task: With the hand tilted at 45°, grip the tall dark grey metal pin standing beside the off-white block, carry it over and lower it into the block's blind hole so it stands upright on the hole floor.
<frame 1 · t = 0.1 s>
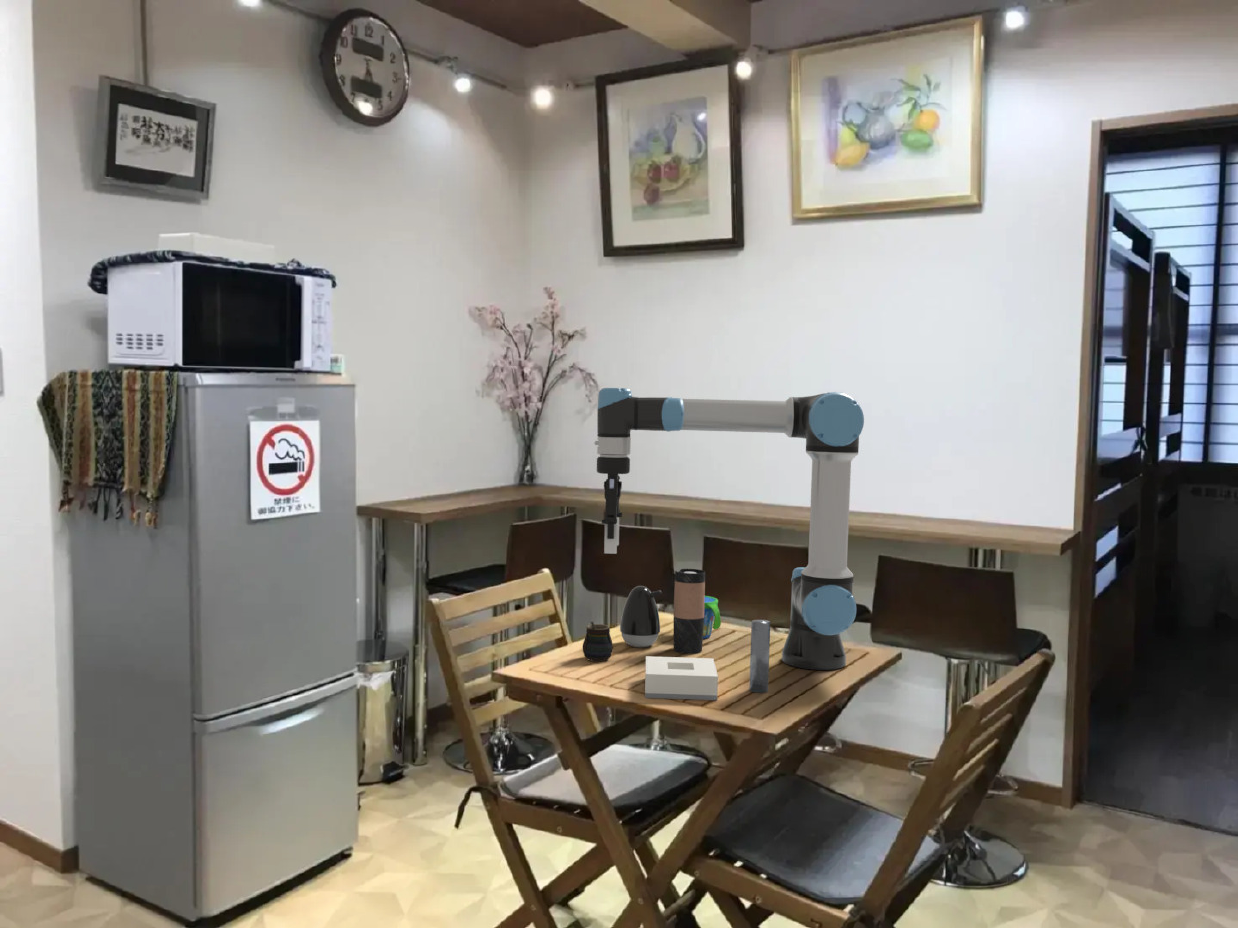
hand: (611, 549, 228), 28 cm above the table, tool pointing down, fingers open, 13 cm apart
pin: (758, 690, 216), on the table
pump dispenser: (639, 645, 255), on the table
travel mug: (687, 651, 250), on the table
mate gourd: (597, 660, 239), on the table
snack cup: (696, 637, 266), on the table
hole block: (679, 688, 216), on the table
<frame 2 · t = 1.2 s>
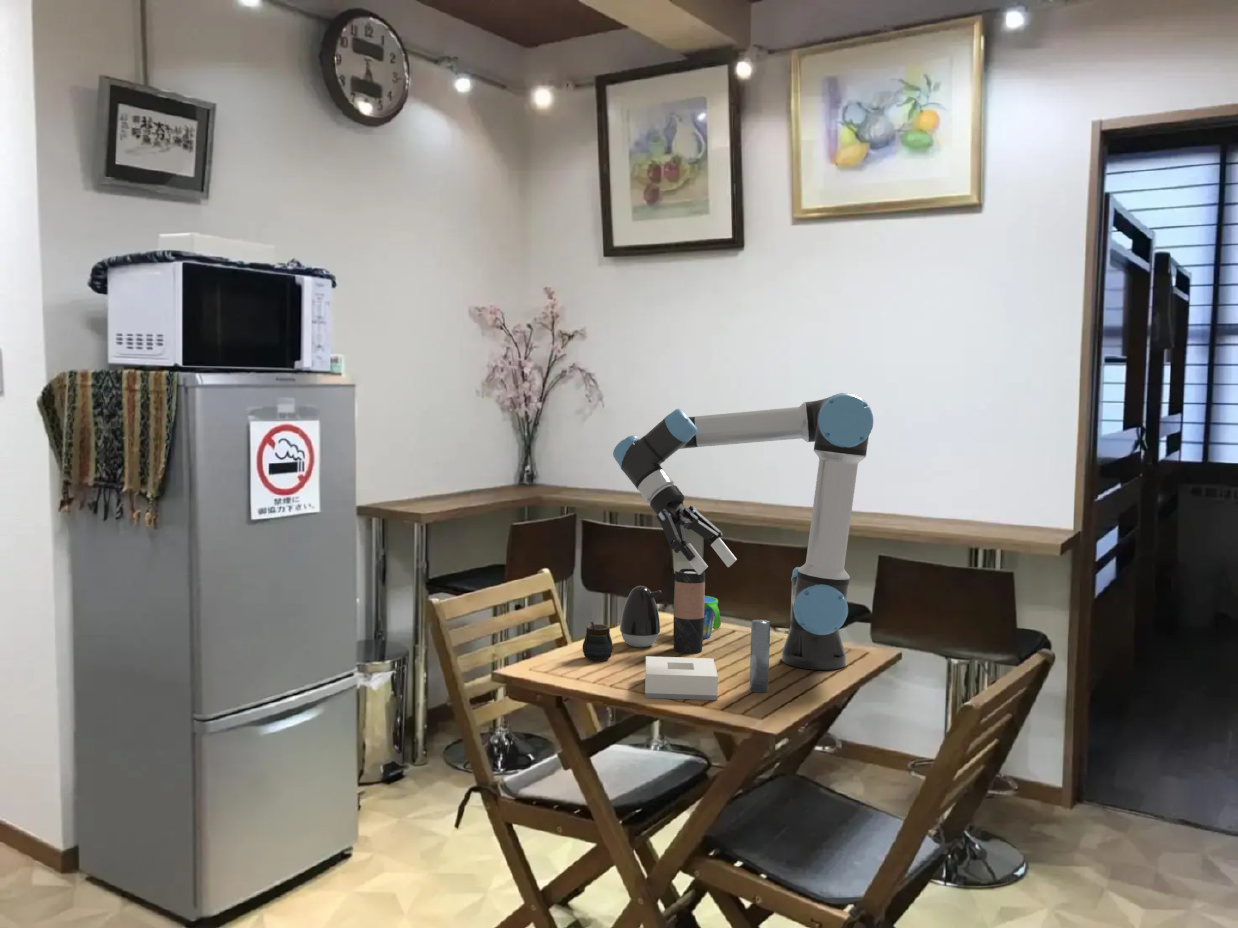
hand: (718, 567, 221), 26 cm above the table, tool tilted 45°, fingers open, 13 cm apart
nothing on the table moved.
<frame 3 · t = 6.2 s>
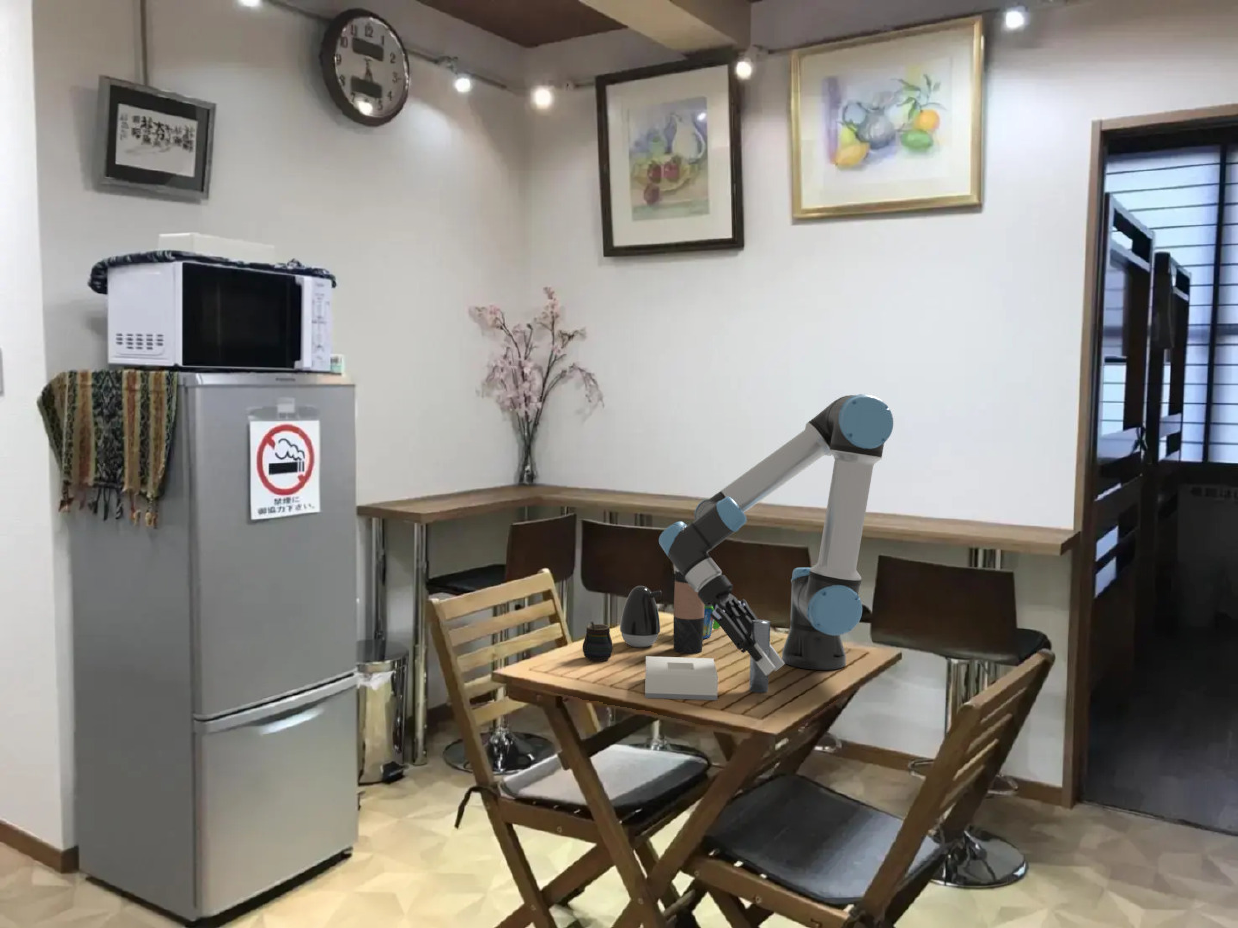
hand: (775, 669, 214), 5 cm above the table, tool tilted 45°, fingers closed on pin, 4 cm apart
pin: (758, 690, 216), on the table, touching gripper
everything else where it was.
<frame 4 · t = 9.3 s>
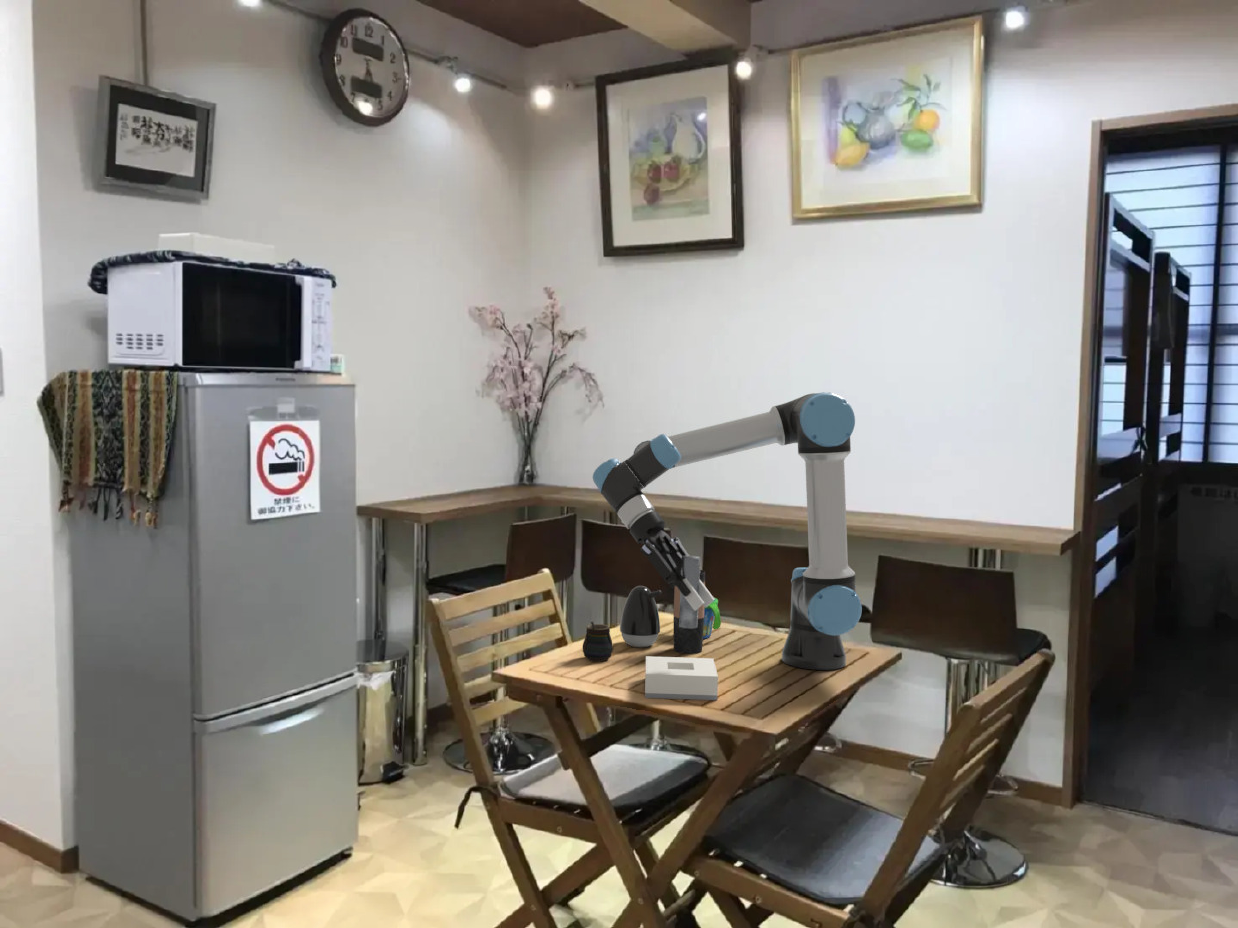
hand: (704, 604, 212), 19 cm above the table, tool tilted 45°, fingers closed on pin, 4 cm apart
pin: (688, 626, 215), point 14 cm above the table, touching gripper
everything else where it was.
when the fingers open (7 cm above the table, at t = 12.6 s): pin stays where it is, resting on hole block.
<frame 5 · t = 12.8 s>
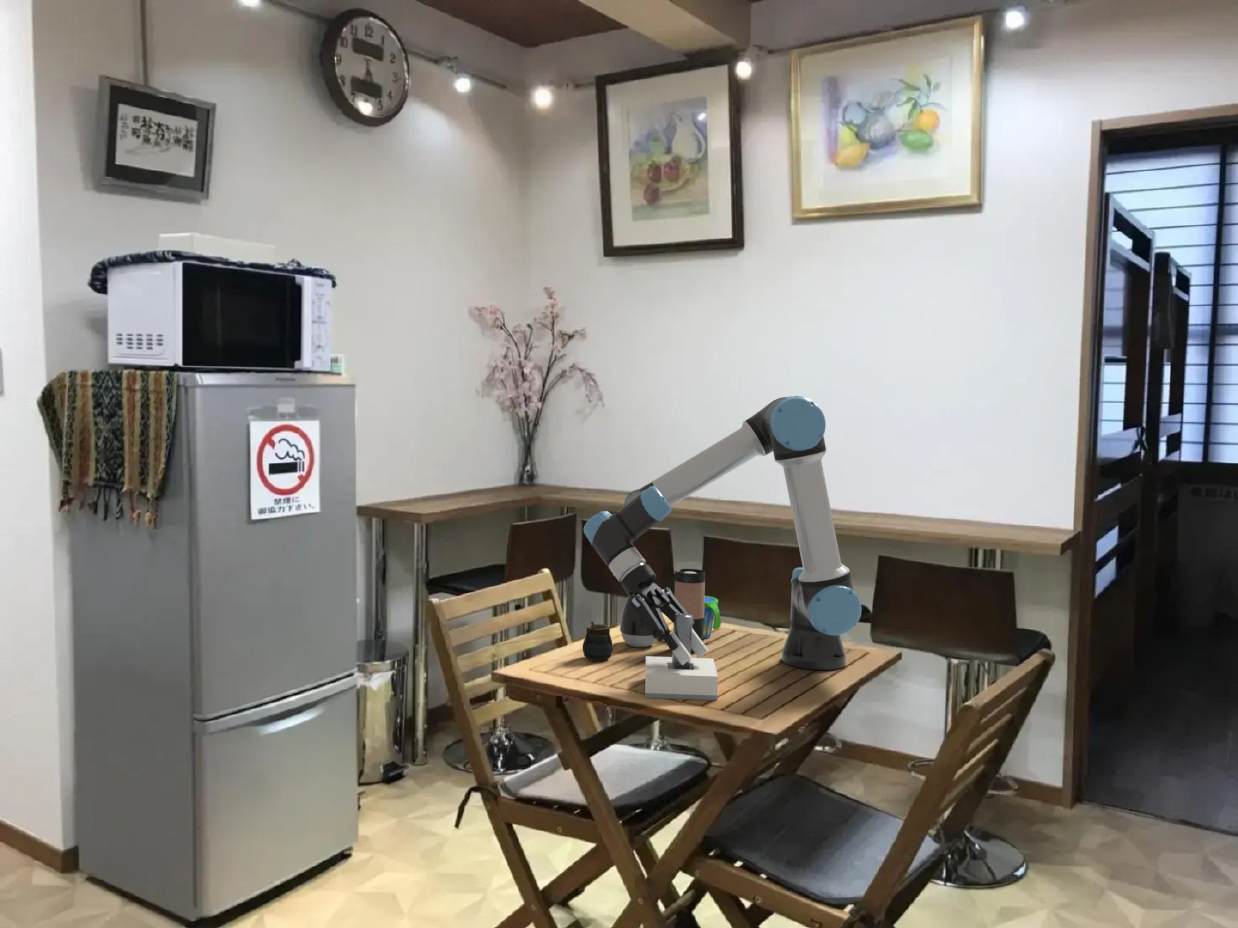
hand: (695, 657, 213), 7 cm above the table, tool tilted 45°, fingers open, 7 cm apart
pin: (680, 684, 215), point 1 cm above the table, touching hole block
everything else where it was.
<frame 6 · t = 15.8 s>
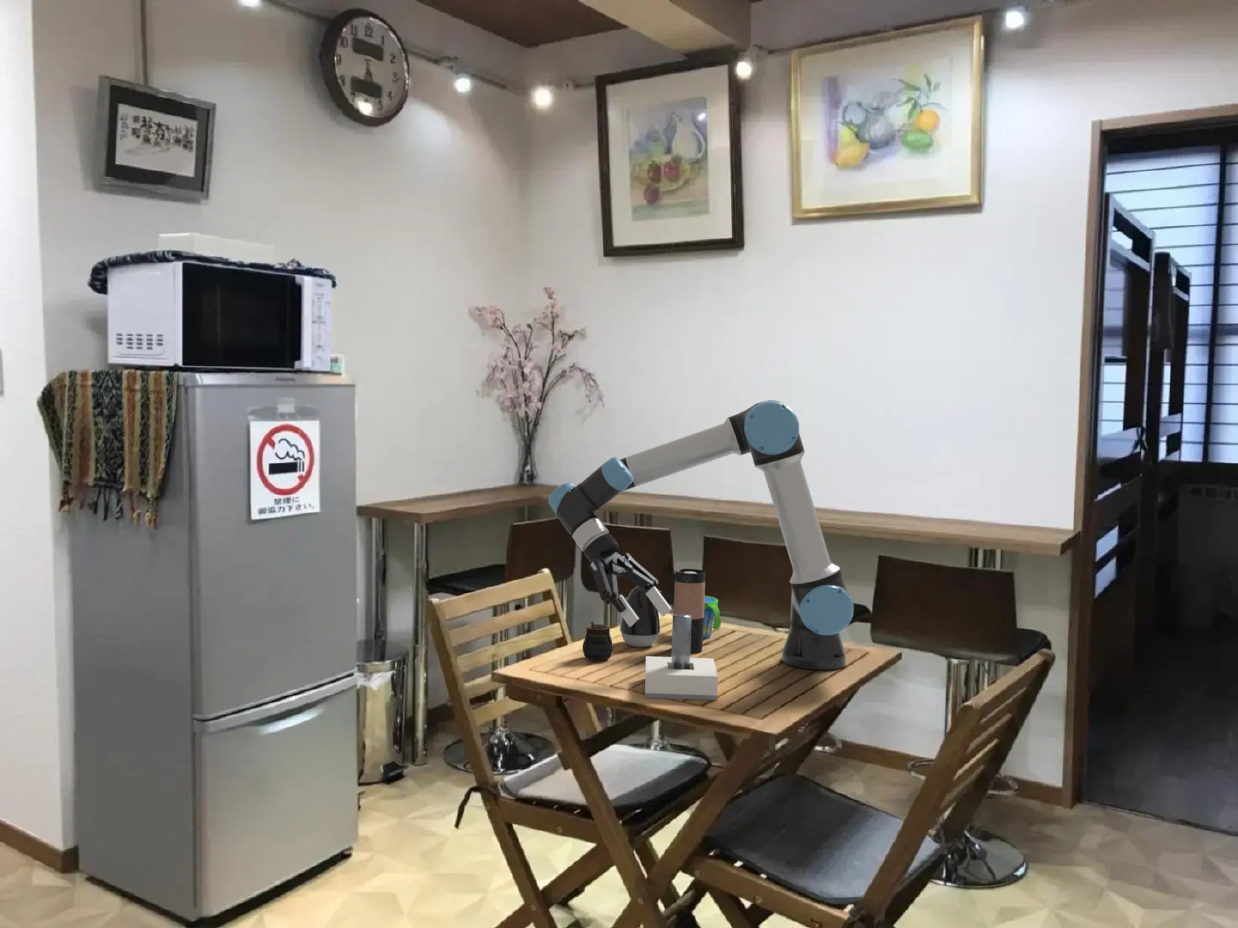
hand: (651, 617, 219), 14 cm above the table, tool tilted 45°, fingers open, 13 cm apart
nothing on the table moved.
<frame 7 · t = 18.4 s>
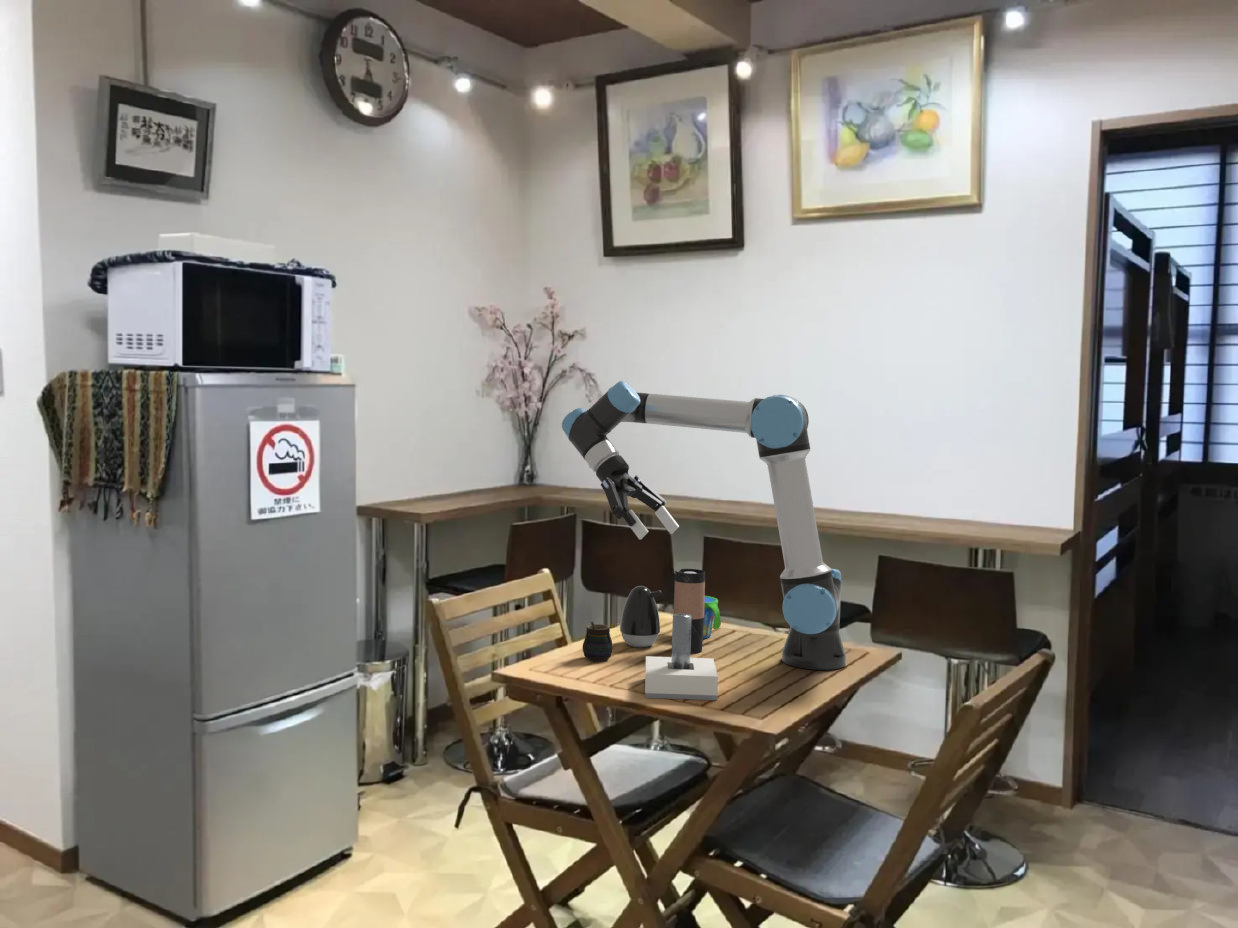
hand: (660, 533, 230), 32 cm above the table, tool tilted 45°, fingers open, 13 cm apart
nothing on the table moved.
at the end: pin 0.0 cm off-centre on the hole block, point 1.0 cm above the hole block's base; pin tilted 0°; the gripper is holding nothing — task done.
